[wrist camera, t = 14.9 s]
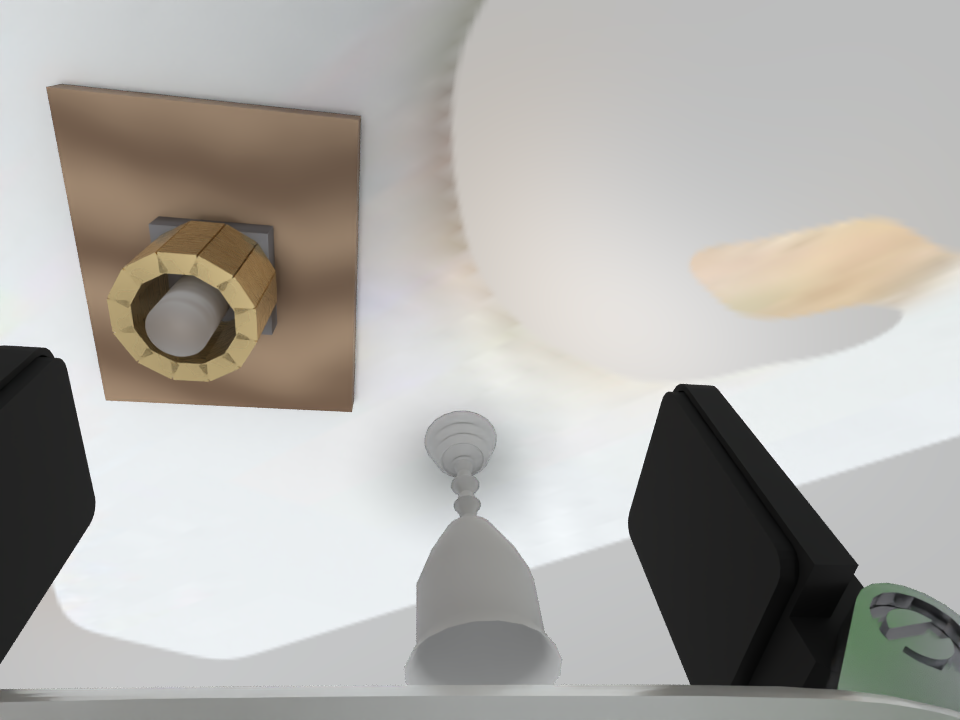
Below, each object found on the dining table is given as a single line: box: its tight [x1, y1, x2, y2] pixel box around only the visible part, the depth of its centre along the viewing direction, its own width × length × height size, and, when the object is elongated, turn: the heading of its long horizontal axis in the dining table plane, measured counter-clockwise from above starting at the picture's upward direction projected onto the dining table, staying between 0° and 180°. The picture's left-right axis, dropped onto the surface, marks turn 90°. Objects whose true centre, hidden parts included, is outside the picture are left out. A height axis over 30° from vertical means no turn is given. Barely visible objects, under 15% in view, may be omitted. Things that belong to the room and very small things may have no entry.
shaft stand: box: [46, 84, 361, 412], centre depth 34 cm, size 18×15×9 cm
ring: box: [107, 221, 277, 382], centre depth 33 cm, size 7×7×5 cm
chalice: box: [405, 411, 562, 685], centre depth 37 cm, size 7×7×18 cm
